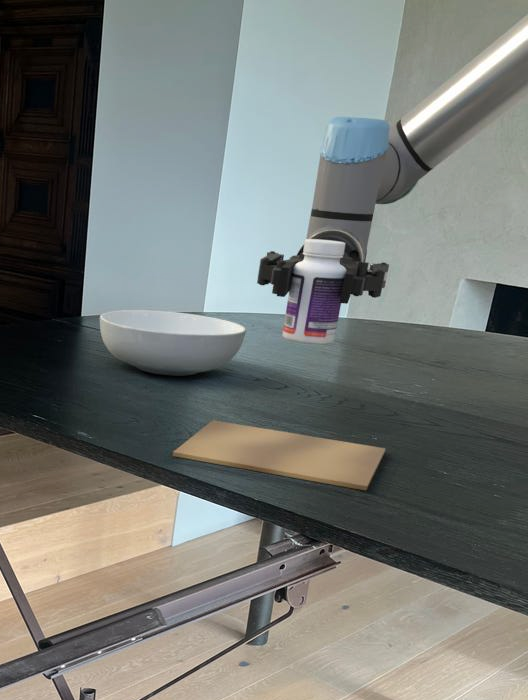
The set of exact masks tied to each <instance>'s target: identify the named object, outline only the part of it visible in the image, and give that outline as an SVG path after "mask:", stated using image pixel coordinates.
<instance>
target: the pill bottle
mask: <svg viewBox="0 0 528 700" xmlns="http://www.w3.org/2000/svg"><path fill="white" fill-rule="evenodd" d="M303 245H304V250H303V251H304V252H303V254H304V255H305V256H304V260H303V261H301V262H298V263H297V264H296V265H295V266H294V268H293V272H292V278H291V284H290V290H289V292H288V298H287V303H286V308H285V315H284V322H283V327H282V337H283V338H284V339H285V340H287V341H291V342H293V343H294V342H295V343H300V344H307V345H308V344H309V345H328V344H332V343H333V342H334V341H335V338H336V334H337V329H338V323H339V318H340V311H341V306H342V303H340V299H341V293H342V288H343V283H344V277H345V273H346V269H345V267H344V266H342V265H340V258H343V255H344V249H345V243H344V242H339V241H331V240H319V239H306V238H305V239H304V243H303Z"/></svg>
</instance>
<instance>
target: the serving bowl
mask: <svg viewBox="0 0 528 700" xmlns="http://www.w3.org/2000/svg"><path fill="white" fill-rule="evenodd" d="M99 327H100V329H99V331H100V336H101V338H102V341H103V344H104V346H105V347H106V349H107V350H108V351H109V353H110V354H112V355H113V356H114V357H115V358H116V359H118V360H119V361H121V362H123V363H126V364H128V365H130V366H133V367H134V368H135V367H136V368H137V369H138V370H140V371H143V372H147V373H150V374H155V375H160V376H161V375H163V376H174V377H175V376H176V377H177V376H178V377H184V376H192V375H196V374H198V373H204V372H209V371H213V370H217V369H219V368H221V367H223V366H225V365H226V364H228V363H229V362H230V361H232V359H234V358H235V356H236V355H237V354H238V352H239V351H240V350H241V347H242V345H243V342H244V339H245V337H246V334H247V329H246V328H245V327H244V325H242V324H239V323H236V322H233V321H230V320H226V319H222V318H217V317H211V316H206V315H200V314H193V313H186V312H185V313H184V312H175V311H165V310H164V311H163V310H151V309H150V310H149V309H147V310H145V309H122V310H121V309H120V310H113V311H107V312H104V313H102V314H100V316H99Z"/></svg>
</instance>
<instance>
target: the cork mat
mask: <svg viewBox="0 0 528 700" xmlns="http://www.w3.org/2000/svg"><path fill="white" fill-rule="evenodd" d="M386 452H387V449H386V448H385V447H379V446H372V445H367V444H361V443H354V442H349V441H343V440H336V439H330V438H323V437H318V436H311V435H306V434H299V433H294V432H287V431H282V430H281V431H280V430H275V429H270V428H264V427H257V426H252V425H251V426H250V425H245V424H239V423H233V422H228V421H220V420H214V419H212V420H211V421H210V422H209V423H207V424H206V425H205V426H203V427H201V429H200V430H198V431H197V432H196V433H195V434H193V435H192V436H191V437H190V438H188V439H187V440H186V441H185V442H183V444H181V445H180V446H179V447H178V448H176V449H175V450H174V451H172V457H175V458H181V459H185V460H191V461H196V462H197V461H198V462H203V463H208V464H214V465H220V466H226V467H231V468H235V469H236V468H237V469H241V470H248V471H253V472H259V473H265V474H271V475H276V476H282V477H287V478H293V479H298V480H304V481H310V482H315V483H322V484H326V485H332V486H337V487H342V488H349V489H354V490H360V491H368V490H369V489H368V488H369V486H370V485H371V483H372V480H373V478H374V476H375V474H376V472H377V470H378V469H379V467H380V464H381V462H382V460H383V458H384V456H385V454H386Z"/></svg>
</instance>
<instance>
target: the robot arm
mask: <svg viewBox="0 0 528 700" xmlns="http://www.w3.org/2000/svg"><path fill="white" fill-rule="evenodd" d="M527 97H528V13H527V14H526V15H525V16H524V17H523V18H521V19H520V20H519V21H518V22H517V23H515V24H514V25H513V26H511V27H510V28H509V29H508V30H507V31H505V32H504V33H503V34H502V35H500V37H497V39H496V40H495V41H493V42H492V43H491V44H489V45H488V46H487V47H486V48H485V49H483V50H482V51H481V52H480V53H478V54H477V55H476V56H475V57H474V58H472V59H471V60H470V61H469V62H468V63H467V64H465V65H464V66H463V67H462V68H460V69H459V70H458V71H457V72H455V73H454V74H453V75H451V77H449V78H448V79H447V80H446V81H445V82H443V83H442V84H441V85H440V86H439V87H437V88H436V89H435V90H434V91H432V93H430V94H429V95H428V96H427V97H425V98H424V99H423V100H422V101H420V102H419V103H418V104H417V105H415V106H414V107H412V109H411V110H409V111H408V112H406V114H405V115H403V116H402V117H401V118H400V120H398V121H397V122H396V123H394V124H393V125H392V126H390V124H389V122H388V121H387V120H385V119H380V118H368V117H355V116H352V117H351V116H335V117H333V118H330V120H329V121H328V123H327V124H326V127H325V132H324V136H323V140H322V144H321V146H320V149H319V155H320V156H319V161H318V167H317V175H316V180H315V187H314V193H313V200H312V206H311V211H310V216H309V221H308V226H307V233H306V238H305V240H306V239H319V240H331V241H339V242H344V243H345V249H344V255H343V258H340V265H342V266H344V267H345V269H346V273H345V277H344V283H343V288H342V293H341V299H340V303H341V304H346V305H348V304H349V301H350V298H351V296H353V297H361V296H363V293H364V292H367V293H368V296H369V297H371V298H380V297H381V295H382V290H383V289H385V287H386V282H387V277H388V274H389V269H390V264H389V263H387V262H380V263H369V262H367V261H366V260H367V255H368V245H369V239H370V234H371V229H372V224H373V220H374V219H373V218H374V213H375V210H376V205H389V204H392V203H393V204H394V203H396V202H397V201H400V200H402V199H404V198H406V197H407V196H408V195H409V194H410V193H412V191H413V190H414V189H415V188H416V186H417V185H418V183H419V181H420V180H421V179H422V178H423V177H425V176H426V175H428V173H430V172H431V171H433V170H434V169H435V168H436V167H437V166H439V164H441V163H442V162H443V161H445V160H446V159H448V158H449V157H450V156H451V155H453V154H454V153H455V152H457V151H458V150H459V149H460V148H462V147H463V146H464V145H466V144H467V143H469V142H470V141H471V140H473V139H475V137H477V136H478V135H479V134H480V133H482V132H483V131H484V130H485V129H487V128H488V127H489V126H491V125H492V124H493V123H495V122H496V121H497V120H499V119H500V118H501V117H502V116H504V115H505V114H506V113H508V112H509V111H510V110H511V109H513V108H515V107H516V106H517V105H518V104H520V103H521V102H523V100H525V99H526V98H527ZM303 250H304V244H302V246H301V247H300V248H299V250H298V252H297V253H296V255H291V256H290V257H289V259H284V257H285V254H284V253H278V252H276V251H273V250H270V251H268V252H267V253H266V256H263V257H262V258H260V261H259V267H258V273H257V282H256V284H258V285H259V286H266V285H269V284H270V285H272V291H271V293H272V294H273V295H276V297H281V298H285V297H286V296H287V295H288V294H289V290H290V284H291V278H292V272H293V268H294V266H295V265H296V264H297V263H298V262H301V261H303V260H304V256H305V255H304V254H303V252H304V251H303ZM369 264H370V265H369Z"/></svg>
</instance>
